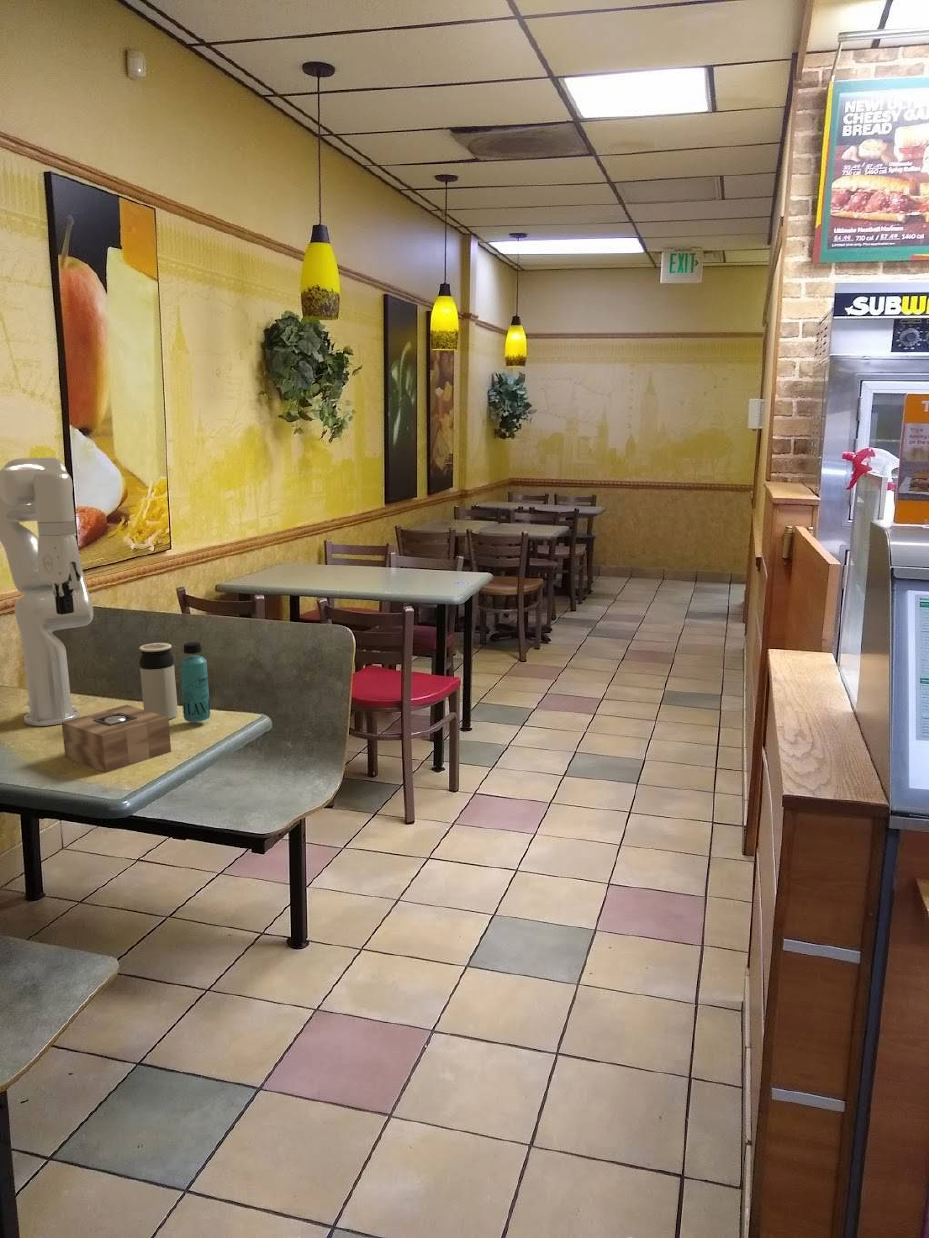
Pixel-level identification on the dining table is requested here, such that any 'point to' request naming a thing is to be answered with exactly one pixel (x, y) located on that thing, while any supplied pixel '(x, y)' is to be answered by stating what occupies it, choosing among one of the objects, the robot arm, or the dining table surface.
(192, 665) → the beverage bottle
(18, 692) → the dining table surface
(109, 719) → the steel dowel
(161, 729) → the block
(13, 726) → the dining table surface
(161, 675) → the travel mug
